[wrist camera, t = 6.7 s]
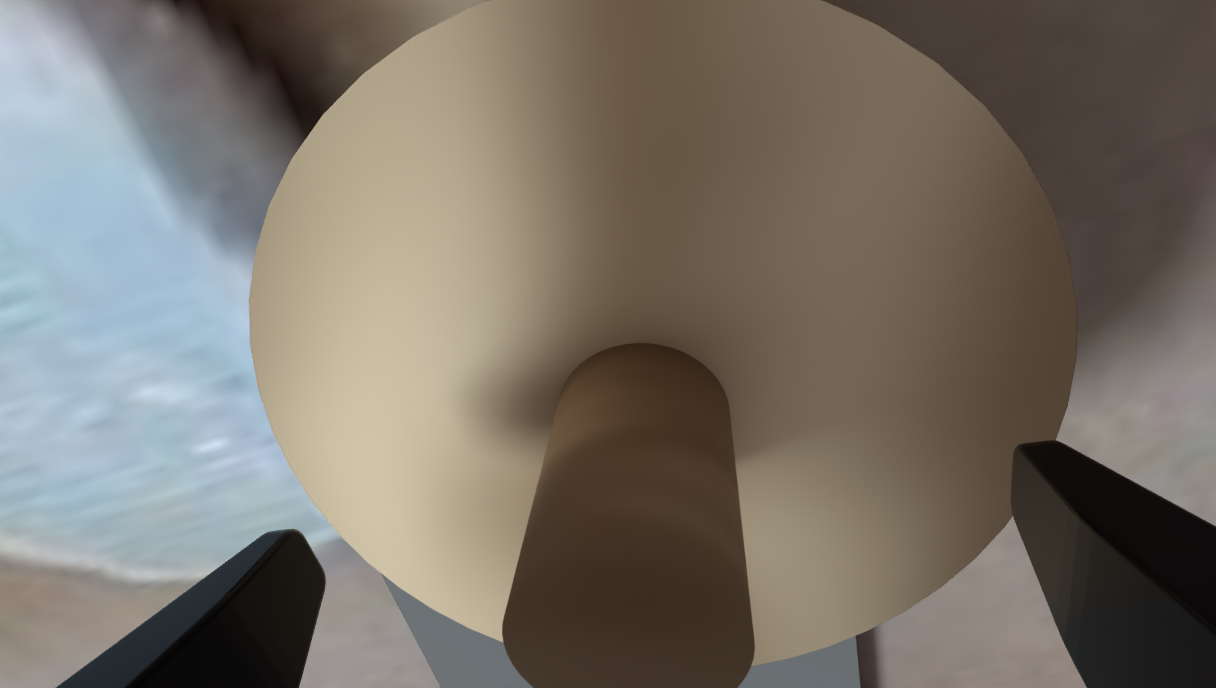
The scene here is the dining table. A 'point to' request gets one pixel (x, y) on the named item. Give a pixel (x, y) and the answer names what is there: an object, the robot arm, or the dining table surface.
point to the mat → (489, 684)
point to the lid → (661, 329)
